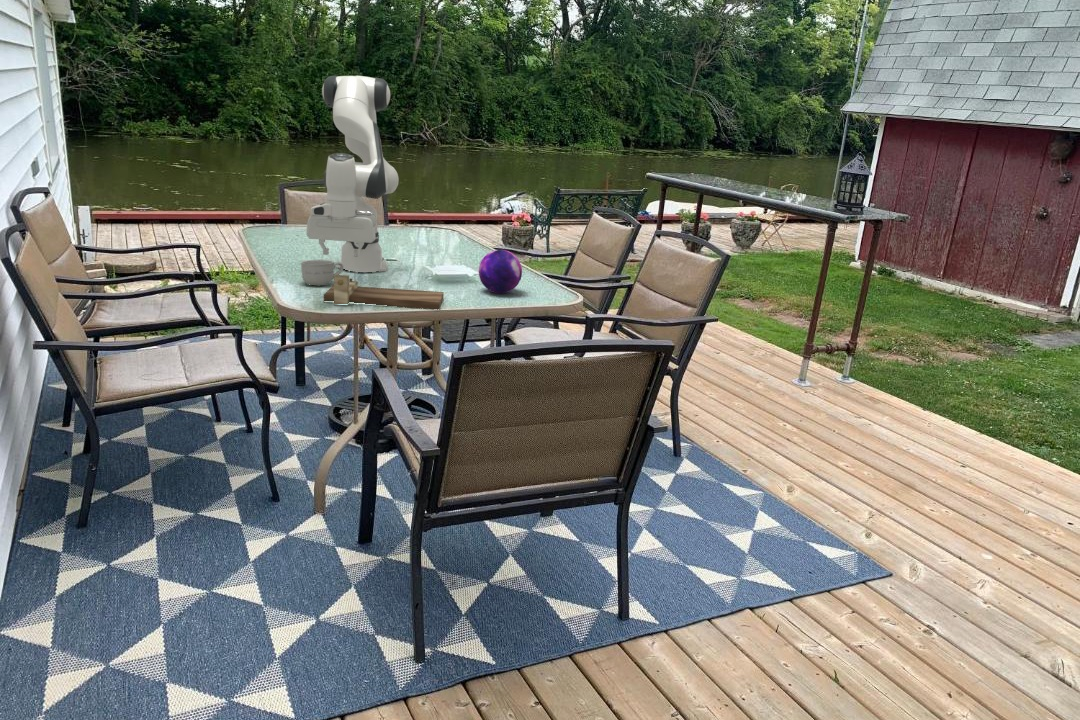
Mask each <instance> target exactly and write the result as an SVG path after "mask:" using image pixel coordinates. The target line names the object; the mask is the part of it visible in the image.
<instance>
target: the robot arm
mask: <svg viewBox="0 0 1080 720" xmlns="http://www.w3.org/2000/svg"><path fill="white" fill-rule="evenodd" d="M321 92H322V98H323V101H324V104H326V105H327V107H328V108H331V109H332V118H333V119H332V121H333V123H334V125H335V127H336V128H337V130H339V132H340V133H342V134H343V135H344V143H345V146H346V148H347V149H348V150H349V151H350V152H351V153H352V154H355V155H356V156H358V157H359V158H360V159H361V160H362V162H359V161H355V157H354V156H353V155H351V154H348V153H343V152H337V153H332V154H329V155H328V157H327V161H326V162H327V163H326V168H325V170H324V172H323V173H324V175H323V176H324V177H323V179H324V180H323V181H324V182H323V183H324V184H323V186H324V188H325V189H326V191H327V193H326V196H325V203H320V204H317V205H314V206H312V207H310V210H309V214H310V216H309V217H308V219H307V224H306V236H307V238H308V239H310V240H318V244H319V246H320V247H321V249H322V255H325V256H328V255H330V254H329V253H330V252H329V251H330V248H329V247H327V246H326V245H325V242H326V241H337V242H345V243H344V244H342V246H341V250H340V251H341V252H340V263H342V264H343V269H345V270H350V271H357V272H356V273H358V272H372V273H377V272H376V271H379V272H388V271H387V270H388V264H387V263H388V262H387V260H385V258H384V257H383V256H382V255H383V253H382V252H383V249H382V247H381V246H380V244H379V243H380V239H379V238H380V234H379V231H378V226H379V225H378V220H379V219H378V217H379V216H378V211H377V209H376V208H375V207H374V206H373V205H371V204H370V203H368V202H366V201H364V199H363V198H368V199H375V200H378V199H381V197H383V196H384V195H388V194H389V195H390V194H392V193H394V192H395V191H396V189H398V186H399V174H398V172H397V170H396V169H395V167H393V166H392V165H391V164H390V163H389V162H388V161H387V160H386V159H385V158H384V156H383V155H384V154H383V149H382V148H383V147H382V140H381V136H380V131H379V126H378V124H377V123H378V122H377V113H378V112H380V111H384V110H386V109H387V108H388V106H389V104H390V100H391V89H390V88H389V85H388V82H387V81H386V80H385V79H384V78H379V77H370V76H363V75H340V76H338V75H330V76H327V78H325V79H324V81H323V85H322V89H321ZM337 267H339V268H338V269H340V265H336V268H337ZM345 270H344V271H345ZM350 271H349V272H350Z"/></svg>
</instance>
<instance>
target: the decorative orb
mask: <svg viewBox="0 0 1080 720" xmlns="http://www.w3.org/2000/svg"><path fill="white" fill-rule="evenodd" d="M522 268H523V267H522V264H521V262H520V259H519V258H518V256H516V255H515V254H514V253H513V252H511V251H509V250H506V249H495V250H492V251H489V252H488V253H487V254H486V255H484V257H483V258H482V259H481V261H480V262H479V266H478V277H479V280H480V282H481V284H482V285H483V287H484V288H486V290H488V291H490V292H493V293H496V294H505V293H509V292H510V291H512V290H514V289H515V288H516V287H517V286H518V285H519V284H520V281H521V280H522V276H523V275H522V274H523V269H522Z"/></svg>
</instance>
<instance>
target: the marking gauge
mask: <svg viewBox="0 0 1080 720" xmlns="http://www.w3.org/2000/svg"><path fill="white" fill-rule="evenodd" d="M358 282H359V281H357V280H353V278H350V275H348V274H339V275H335V276H334V279H333V285H334V303H333V305H334V304H348V303H349V296H350V295H351V294H352V293H353V292H354V291H355V290H356V288H357V287H358V285H359V283H358Z"/></svg>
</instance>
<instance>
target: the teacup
mask: <svg viewBox="0 0 1080 720" xmlns="http://www.w3.org/2000/svg"><path fill="white" fill-rule="evenodd" d="M300 264H301V277H302V280H303V281H304V282H305V283H306V284H307V285H308V284H310V285H309V286H311V285H318V286H317V287H321V286H320V285H325V286H328V285H329V284H330V283H331V282H332V281H334V276H335V275H341V273H342V272H343V271H344V270H343V264H342V263H341V261H333V260H327V259H309V260H303V261H301V262H300ZM337 265H340V268H339V270H338V271H337V272H334V271H335V267H337ZM327 284H328V285H327Z"/></svg>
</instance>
